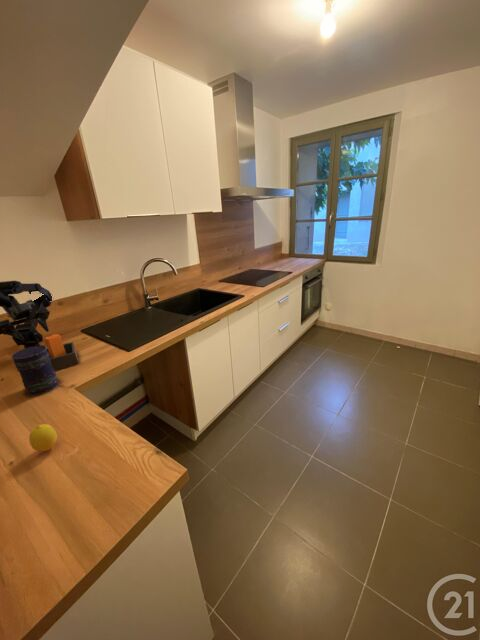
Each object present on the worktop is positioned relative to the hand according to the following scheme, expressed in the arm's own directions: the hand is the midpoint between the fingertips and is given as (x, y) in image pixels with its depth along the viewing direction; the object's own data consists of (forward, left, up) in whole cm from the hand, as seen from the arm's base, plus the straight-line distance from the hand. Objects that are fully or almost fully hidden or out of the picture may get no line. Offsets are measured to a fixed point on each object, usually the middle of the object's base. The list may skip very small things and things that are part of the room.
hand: (36, 335), depth 109 cm
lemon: (+58, +1, -14) cm, 59 cm away
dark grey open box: (+3, +5, -14) cm, 15 cm away
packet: (+3, +5, -13) cm, 14 cm away
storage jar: (+21, -1, -14) cm, 25 cm away
